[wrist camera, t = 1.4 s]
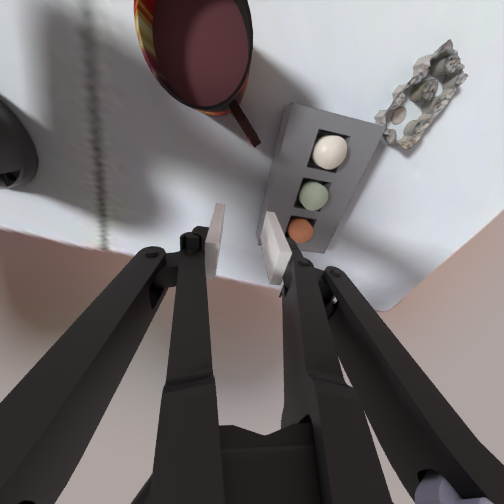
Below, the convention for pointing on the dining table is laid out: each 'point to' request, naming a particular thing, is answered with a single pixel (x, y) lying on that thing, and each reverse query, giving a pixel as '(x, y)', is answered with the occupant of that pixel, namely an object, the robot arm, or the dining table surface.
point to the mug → (199, 52)
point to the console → (316, 170)
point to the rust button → (299, 229)
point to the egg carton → (424, 94)
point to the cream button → (329, 151)
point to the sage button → (312, 195)
